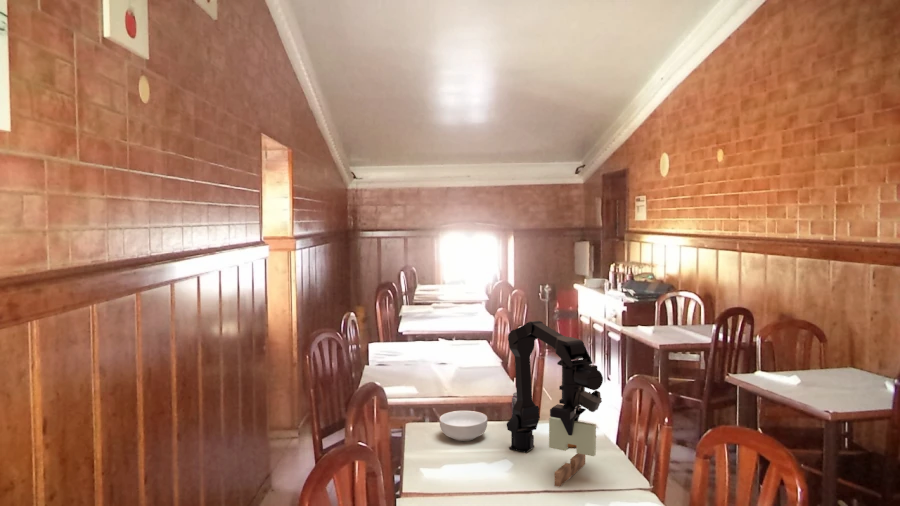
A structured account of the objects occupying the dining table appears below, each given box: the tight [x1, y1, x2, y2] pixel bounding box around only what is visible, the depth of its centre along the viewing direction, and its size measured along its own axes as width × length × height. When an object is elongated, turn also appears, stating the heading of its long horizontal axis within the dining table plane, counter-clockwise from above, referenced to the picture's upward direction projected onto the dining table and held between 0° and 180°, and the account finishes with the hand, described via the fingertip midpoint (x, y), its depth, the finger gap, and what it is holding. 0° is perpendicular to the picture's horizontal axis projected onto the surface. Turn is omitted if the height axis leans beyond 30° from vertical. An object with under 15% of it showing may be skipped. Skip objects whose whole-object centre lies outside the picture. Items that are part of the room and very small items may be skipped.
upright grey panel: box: [548, 416, 597, 457], centre depth 194 cm, size 14×2×9 cm, turn 58°
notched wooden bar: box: [554, 453, 586, 488], centre depth 194 cm, size 20×2×4 cm, turn 147°
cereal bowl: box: [439, 410, 488, 442], centre depth 227 cm, size 17×17×7 cm
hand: (571, 434), depth 194 cm, fingers closed on upright grey panel, 2 cm apart
